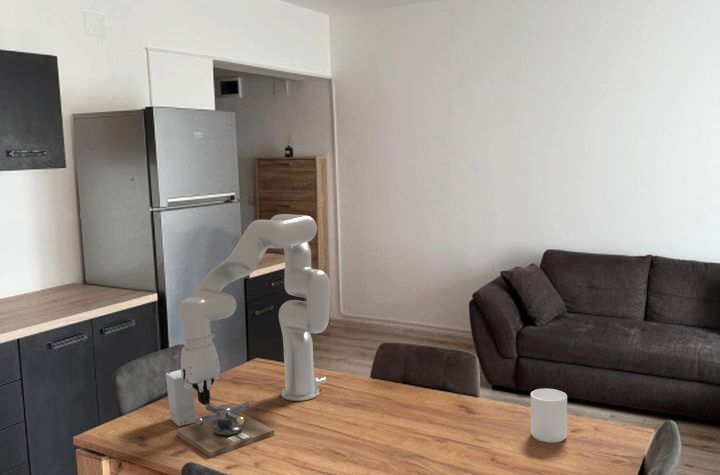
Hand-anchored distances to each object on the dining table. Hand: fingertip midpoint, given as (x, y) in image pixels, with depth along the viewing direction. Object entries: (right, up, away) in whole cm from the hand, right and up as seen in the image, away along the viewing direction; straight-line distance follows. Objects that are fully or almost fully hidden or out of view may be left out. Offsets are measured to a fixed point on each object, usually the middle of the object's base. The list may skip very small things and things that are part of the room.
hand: (204, 402), depth 189 cm
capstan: (+6, -8, 0) cm, 10 cm away
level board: (+6, -9, 0) cm, 11 cm away
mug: (+96, -7, -8) cm, 97 cm away
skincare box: (-9, -8, +12) cm, 17 cm away
